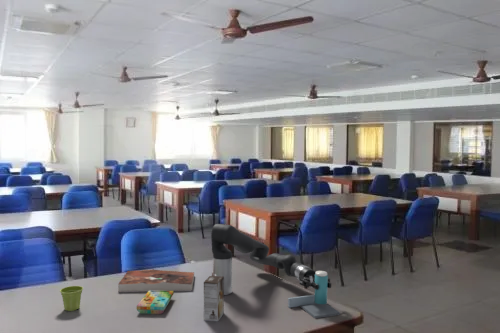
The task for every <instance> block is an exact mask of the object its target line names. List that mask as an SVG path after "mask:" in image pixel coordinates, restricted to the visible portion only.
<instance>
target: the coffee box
mask: <svg viewBox="0 0 500 333" xmlns="http://www.w3.org/2000/svg"><path fill="white" fill-rule="evenodd" d="M207 277H208V278H206V279H205V280H204V281H203V321H210V322H219V321H220V319H221V318H222V316H223V315H224V313H225V295H224V277H223V276H212V275H209V276H207Z"/></svg>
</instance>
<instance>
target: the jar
mask: <svg viewBox="0 0 500 333" xmlns="http://www.w3.org/2000/svg"><path fill="white" fill-rule="evenodd" d="M315 272H316V274H315V283H316V284H318V285H319V289H318V290H316V289H314V295H315V296H314V302H315V303H317V304H326V303H327V304H328V289H329V288H328V277H329V276H328V275H329V274H328V272H327V271H326V270H325V271H324V270H315Z"/></svg>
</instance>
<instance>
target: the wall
mask: <svg viewBox="0 0 500 333" xmlns="http://www.w3.org/2000/svg"><path fill="white" fill-rule="evenodd" d="M314 296H315V294H311V295H310V294H309V295H302V296H294V297H288V298H287V307H288V308H289V309H290V308H297V307H301V305H307V304H314V303H315V302H314Z"/></svg>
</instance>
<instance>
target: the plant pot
mask: <svg viewBox="0 0 500 333" xmlns="http://www.w3.org/2000/svg"><path fill="white" fill-rule="evenodd" d="M83 290H84V286H81V285H69V286H66V287H63V288H61V289H59V292H60V294H61V297H62V302H63V309H64V310H65V311H68V312H73V311H74V312H75V311H77V309H80V307H81V299H82V294H83Z"/></svg>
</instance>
